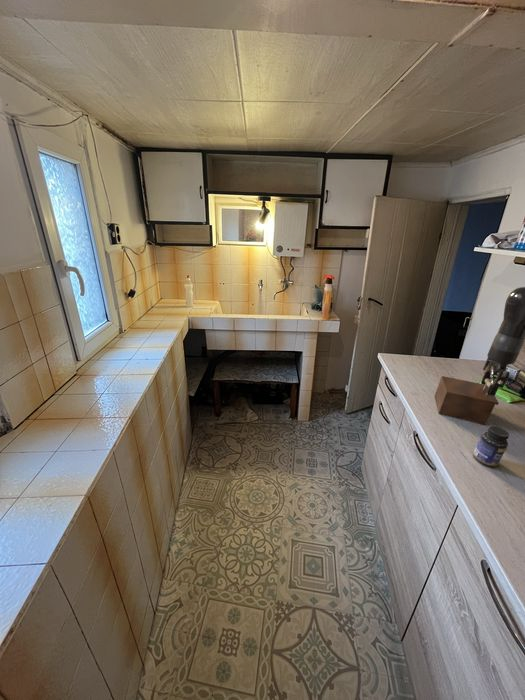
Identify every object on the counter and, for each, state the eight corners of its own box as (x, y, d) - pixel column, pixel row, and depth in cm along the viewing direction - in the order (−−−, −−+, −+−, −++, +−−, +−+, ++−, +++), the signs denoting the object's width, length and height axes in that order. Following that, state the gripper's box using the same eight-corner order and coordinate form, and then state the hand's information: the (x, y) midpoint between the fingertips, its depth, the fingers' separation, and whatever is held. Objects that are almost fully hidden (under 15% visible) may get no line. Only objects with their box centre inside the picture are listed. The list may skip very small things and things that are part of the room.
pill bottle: (492, 471, 80) (508, 441, 75) (468, 457, 84) (482, 428, 80) (500, 462, 83) (515, 432, 79) (476, 449, 88) (490, 421, 83)
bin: (476, 405, 109) (485, 386, 106) (485, 425, 99) (495, 404, 95) (434, 396, 114) (441, 377, 111) (438, 413, 104) (446, 393, 100)
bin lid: (487, 387, 105) (492, 375, 103) (498, 405, 95) (504, 392, 93) (441, 377, 111) (445, 366, 108) (446, 393, 100) (450, 381, 98)
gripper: (528, 358, 86) (506, 402, 93) (512, 341, 98) (493, 382, 105) (499, 353, 88) (480, 396, 95) (486, 337, 100) (470, 377, 107)
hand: (487, 389), depth 100 cm, fingers open, 7 cm apart
